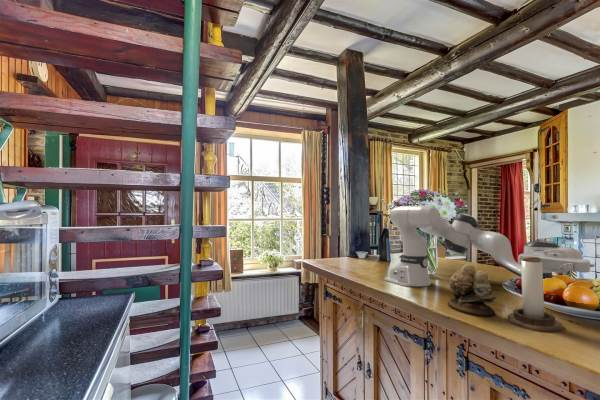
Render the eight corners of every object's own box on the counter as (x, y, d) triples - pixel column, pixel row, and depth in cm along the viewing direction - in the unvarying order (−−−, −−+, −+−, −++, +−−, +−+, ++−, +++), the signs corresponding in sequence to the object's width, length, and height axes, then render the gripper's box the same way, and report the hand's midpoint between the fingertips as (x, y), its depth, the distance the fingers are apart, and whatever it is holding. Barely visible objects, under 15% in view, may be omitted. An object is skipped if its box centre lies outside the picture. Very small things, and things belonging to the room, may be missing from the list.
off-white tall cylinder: (520, 319, 98) (518, 257, 99) (526, 315, 101) (524, 255, 102) (541, 324, 94) (538, 259, 94) (547, 320, 97) (544, 257, 98)
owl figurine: (506, 315, 106) (504, 266, 106) (485, 321, 101) (483, 269, 101) (460, 300, 122) (458, 258, 122) (439, 305, 117) (438, 261, 117)
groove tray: (500, 321, 99) (499, 312, 99) (517, 312, 107) (517, 304, 107) (553, 335, 88) (553, 325, 88) (568, 324, 96) (568, 315, 96)
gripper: (596, 274, 105) (585, 279, 97) (526, 265, 122) (512, 269, 114) (596, 255, 105) (584, 259, 97) (526, 249, 122) (512, 252, 114)
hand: (545, 264), depth 106 cm, fingers open, 8 cm apart
